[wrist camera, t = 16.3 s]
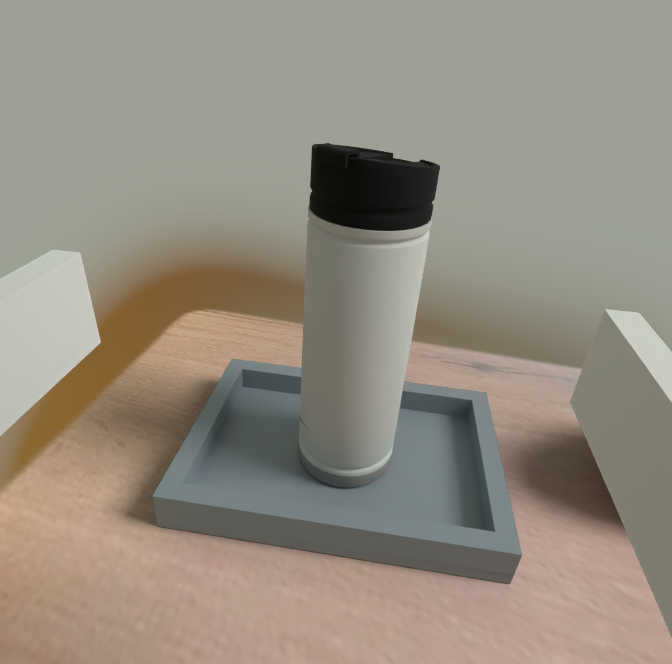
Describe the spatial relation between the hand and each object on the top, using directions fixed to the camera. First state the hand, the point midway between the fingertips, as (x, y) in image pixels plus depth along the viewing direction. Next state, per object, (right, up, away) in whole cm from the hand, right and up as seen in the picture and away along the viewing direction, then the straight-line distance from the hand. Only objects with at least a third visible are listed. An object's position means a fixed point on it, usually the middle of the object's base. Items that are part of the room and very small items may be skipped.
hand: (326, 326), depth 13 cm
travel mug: (+1, -9, +20) cm, 22 cm away
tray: (+1, -9, +21) cm, 23 cm away
